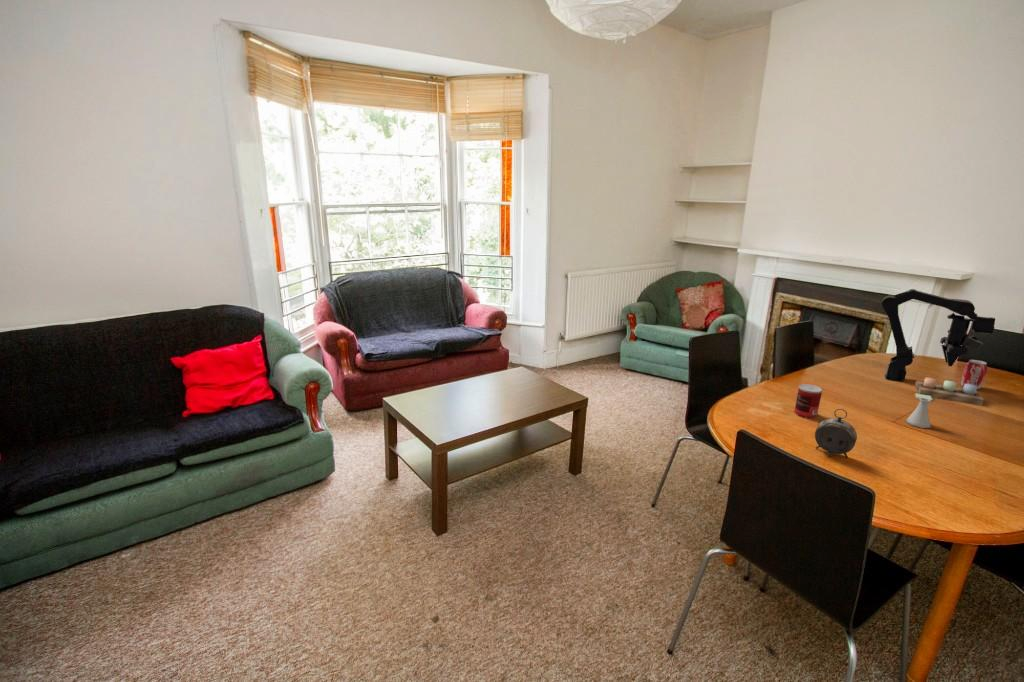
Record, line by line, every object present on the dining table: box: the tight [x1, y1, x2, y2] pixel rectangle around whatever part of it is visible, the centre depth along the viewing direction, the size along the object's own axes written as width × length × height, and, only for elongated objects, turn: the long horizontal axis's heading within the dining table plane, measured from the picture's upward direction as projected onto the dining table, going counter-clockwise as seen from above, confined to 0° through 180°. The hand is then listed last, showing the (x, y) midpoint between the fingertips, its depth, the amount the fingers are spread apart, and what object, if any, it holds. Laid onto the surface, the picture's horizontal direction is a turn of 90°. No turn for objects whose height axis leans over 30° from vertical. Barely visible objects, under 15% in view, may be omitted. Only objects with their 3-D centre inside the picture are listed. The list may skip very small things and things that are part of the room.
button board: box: [914, 380, 984, 406], centre depth 207 cm, size 20×12×2 cm, turn 59°
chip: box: [914, 392, 933, 402], centre depth 204 cm, size 5×5×1 cm
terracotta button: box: [923, 377, 938, 389], centre depth 209 cm, size 4×4×4 cm
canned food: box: [793, 383, 823, 419], centre depth 186 cm, size 8×8×11 cm
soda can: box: [960, 359, 988, 390], centre depth 215 cm, size 7×7×12 cm
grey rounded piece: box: [962, 384, 978, 396], centre depth 203 cm, size 4×4×4 cm
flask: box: [906, 398, 932, 429], centre depth 179 cm, size 7×7×10 cm
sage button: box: [942, 380, 958, 392], centre depth 206 cm, size 4×4×4 cm
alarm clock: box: [814, 408, 858, 459], centre depth 156 cm, size 11×5×16 cm, turn 49°
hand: (948, 364), depth 212 cm, fingers open, 5 cm apart
